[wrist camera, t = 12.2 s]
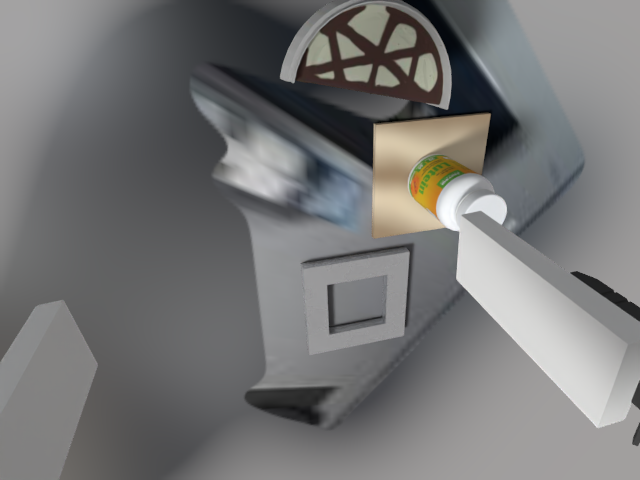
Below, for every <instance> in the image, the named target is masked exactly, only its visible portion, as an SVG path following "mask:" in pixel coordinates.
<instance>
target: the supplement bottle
mask: <svg viewBox="0 0 640 480" xmlns="http://www.w3.org/2000/svg"><path fill="white" fill-rule="evenodd" d="M408 190H409V193H410V195H411V196H412V198H413V199H414V200H415V201H416V202H418V203H419V204H420V205H421V206H422V207H423V208H425V209H426V210H427V211H428V212H429V213H430V214H432V215H433V216H434V217H435V218H436V219H437V220H438V221H440V222H441V223H442V224H443V225H444V226H446V227H447V228H449V229H451V230H454V231H460V220H461V215H463V214H468V213H472V212H477V211H482V212H483V213H485V214H486V215H488V216H489V217H491V218H492V219H493V220H495V221H496V222H498V223H499V224H501V225H502V223H503V221H504V220H505V217H506V213H507V206H506V203H505V201H504V199H503V198H502V197H500V196H499V195H497V194H496V193H495V192H494V188H493V186H492V184H491V183H490V182H489V181H488V180H487V179H486V178H485V177H483V176H481V175H480V174H478V173H476V172H474V171H473V170H471V169H469V168H467V167H465V166H464V165H462V164H460V163H458V162H456V161H455V160H453V159H451V158H449V157H447V156H445V155H442V154H432V155H428V156H426V157H424V158H422V159H421V160H419V161H418V162H417V163H416V164H415V165H414V167H413V168H412V170H411V172H410V174H409V177H408Z"/></svg>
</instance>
